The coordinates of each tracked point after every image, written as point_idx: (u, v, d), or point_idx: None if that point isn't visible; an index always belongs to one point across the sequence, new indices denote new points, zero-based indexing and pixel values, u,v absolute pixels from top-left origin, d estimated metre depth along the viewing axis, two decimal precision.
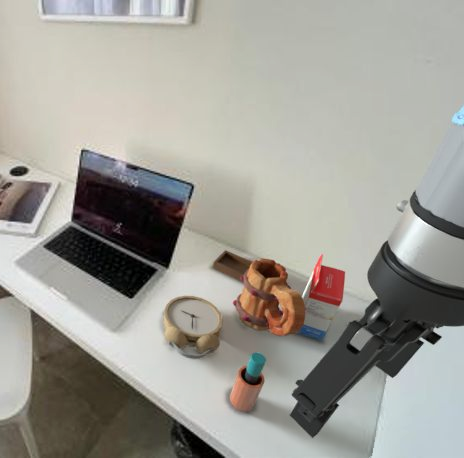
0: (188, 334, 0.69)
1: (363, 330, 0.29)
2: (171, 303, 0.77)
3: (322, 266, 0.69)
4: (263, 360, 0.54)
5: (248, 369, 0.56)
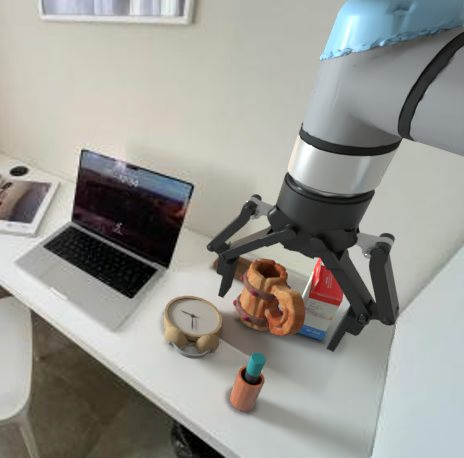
0: (188, 334, 0.69)
1: (252, 197, 0.42)
2: (171, 303, 0.77)
3: (322, 266, 0.69)
4: (263, 360, 0.54)
5: (248, 369, 0.56)
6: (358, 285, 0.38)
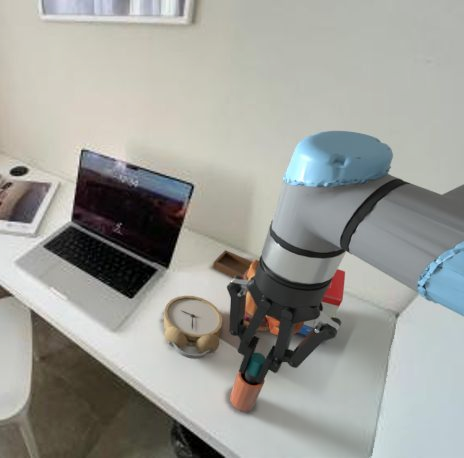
0: (188, 334, 0.69)
1: (232, 279, 0.50)
2: (171, 303, 0.77)
3: None
4: (262, 360, 0.54)
5: (248, 369, 0.56)
6: (288, 342, 0.48)
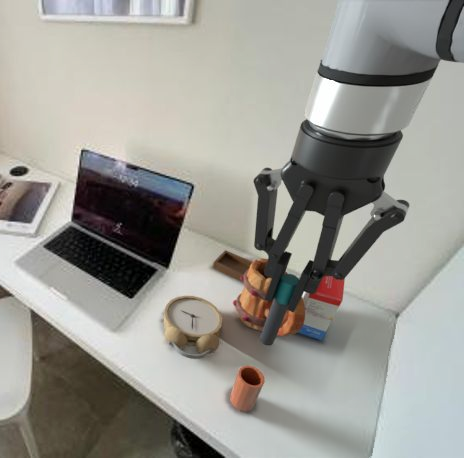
0: (188, 334, 0.69)
1: (260, 172, 0.40)
2: (171, 303, 0.77)
3: None
4: (296, 281, 0.43)
5: (277, 296, 0.45)
6: (332, 246, 0.38)
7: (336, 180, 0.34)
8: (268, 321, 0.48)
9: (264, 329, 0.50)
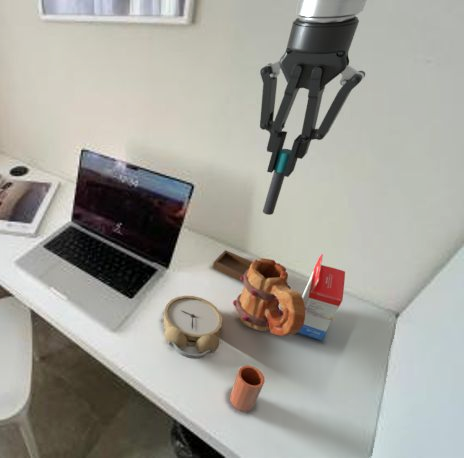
0: (188, 334, 0.69)
1: (265, 66, 0.56)
2: (171, 303, 0.77)
3: (322, 266, 0.69)
4: (290, 152, 0.60)
5: (276, 167, 0.62)
6: (315, 115, 0.54)
7: (317, 59, 0.50)
8: (269, 192, 0.65)
9: (266, 200, 0.66)
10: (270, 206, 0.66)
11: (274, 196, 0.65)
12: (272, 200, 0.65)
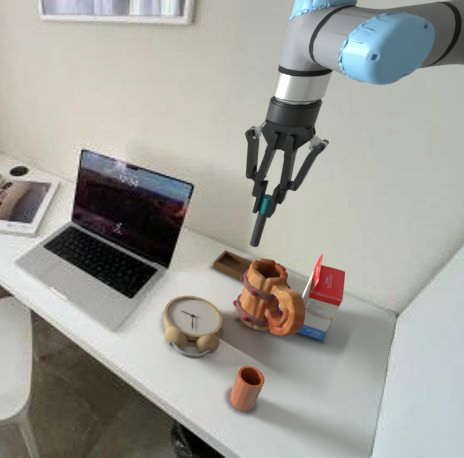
0: (188, 334, 0.69)
1: None
2: (171, 303, 0.77)
3: (322, 266, 0.69)
4: (271, 197, 0.71)
5: (259, 209, 0.73)
6: (290, 171, 0.66)
7: (290, 129, 0.61)
8: (255, 228, 0.76)
9: (252, 235, 0.77)
10: (255, 240, 0.77)
11: (259, 232, 0.76)
12: (257, 235, 0.76)
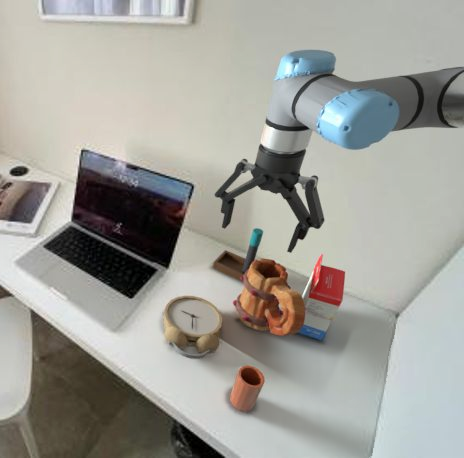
0: (188, 334, 0.69)
1: (242, 160, 0.71)
2: (171, 303, 0.77)
3: (322, 266, 0.69)
4: (261, 231, 0.76)
5: (250, 241, 0.78)
6: (301, 207, 0.67)
7: (277, 174, 0.67)
8: (246, 259, 0.81)
9: (244, 264, 0.83)
10: (247, 269, 0.82)
11: (250, 262, 0.81)
12: (249, 265, 0.82)
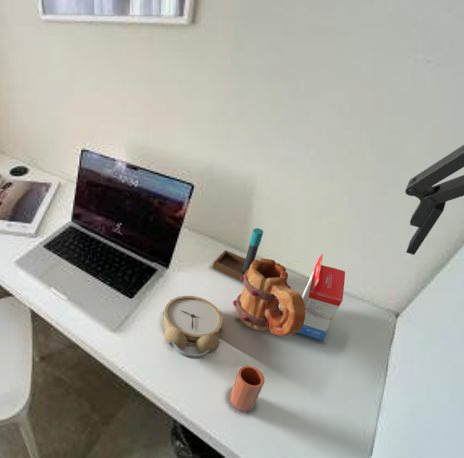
0: (188, 334, 0.69)
1: None
2: (171, 303, 0.77)
3: (322, 266, 0.69)
4: (261, 231, 0.76)
5: (250, 241, 0.78)
6: None
7: None
8: (246, 259, 0.81)
9: (244, 264, 0.83)
10: (247, 269, 0.82)
11: (250, 262, 0.81)
12: (249, 265, 0.82)
